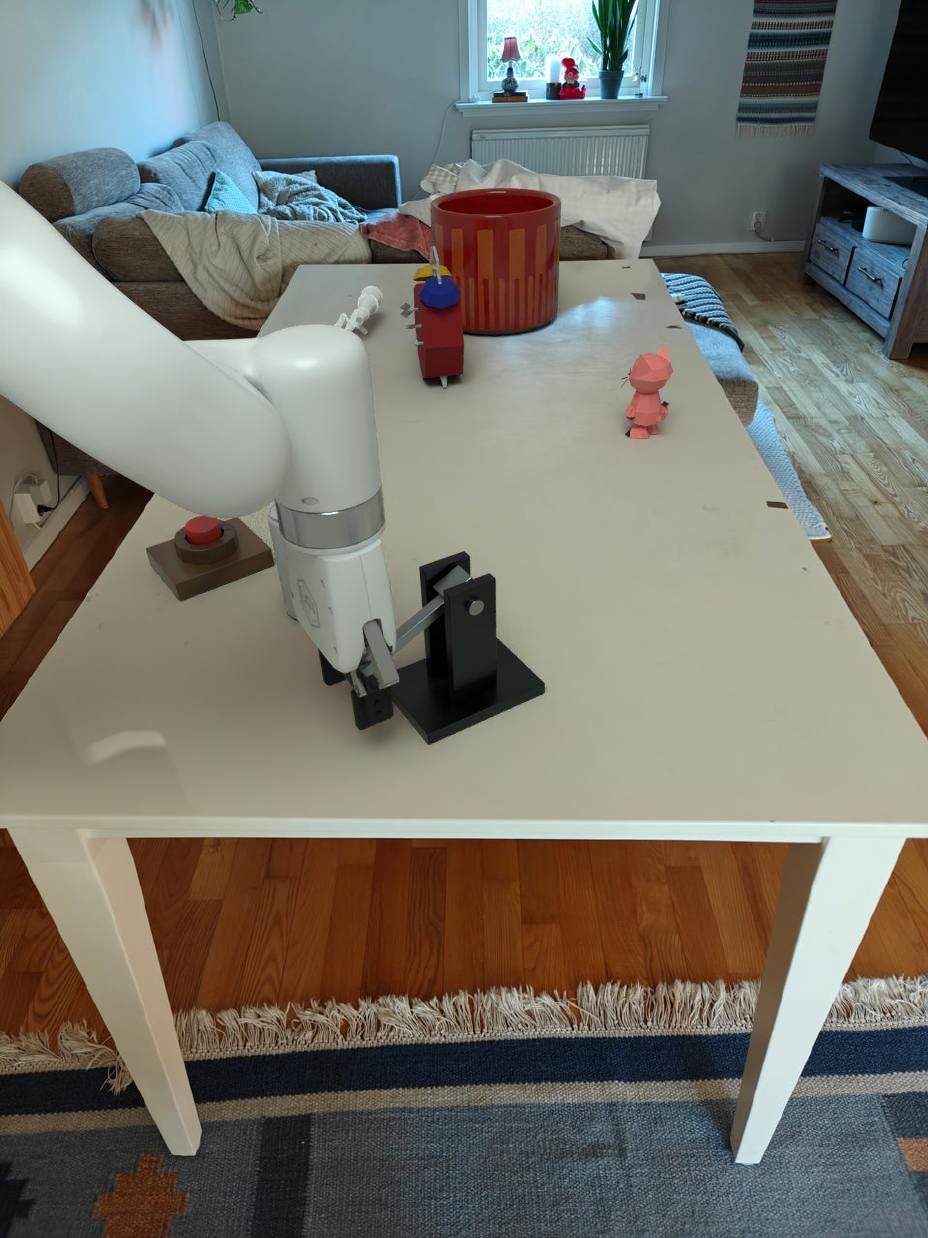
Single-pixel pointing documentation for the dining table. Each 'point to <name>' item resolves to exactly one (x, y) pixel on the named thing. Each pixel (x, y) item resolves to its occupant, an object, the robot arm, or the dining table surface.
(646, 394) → the cat figurine
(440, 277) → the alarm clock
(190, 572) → the button block
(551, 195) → the planter
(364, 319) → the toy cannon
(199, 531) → the button
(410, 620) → the lever
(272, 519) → the beverage can
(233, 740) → the dining table surface
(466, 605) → the bracket
